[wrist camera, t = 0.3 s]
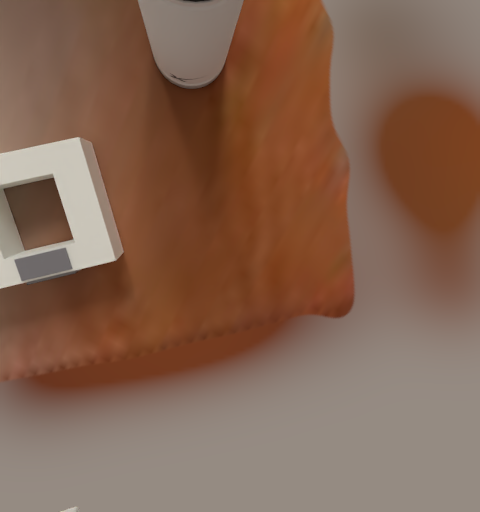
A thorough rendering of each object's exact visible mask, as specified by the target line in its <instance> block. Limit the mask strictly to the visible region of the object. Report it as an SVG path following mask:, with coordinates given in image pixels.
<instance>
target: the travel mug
mask: <svg viewBox="0 0 480 512" xmlns="http://www.w3.org/2000/svg"><path fill="white" fill-rule="evenodd" d="M243 1H244V0H138V3H139V6H140V10H141V13H142V17H143V21H144V24H145V28H146V31H147V35H148V38H149V42H150V46H151V49H152V52H153V56H154V59H155V62H156V65H157V67H158V68H159V70H160V72H161V73H162V74H163V75H164V77H165V78H166V79H168V80H169V81H170V82H171V83H173V84H175V85H177V86H179V87H183V88H188V89H196V88H201V87H204V86H206V85H208V84H210V83H211V82H213V81H214V80H215V79H216V78H217V77H218V75H219V74H220V72H221V71H222V69H223V66H224V64H225V61H226V57H227V54H228V51H229V47H230V44H231V41H232V37H233V34H234V31H235V27H236V24H237V21H238V17H239V14H240V11H241V7H242V4H243Z"/></svg>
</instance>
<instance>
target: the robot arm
mask: <svg viewBox="0 0 480 512" xmlns="http://www.w3.org/2000/svg"><path fill="white" fill-rule="evenodd" d="M60 512H80V511H79V509H78V507H77V506H76V507H73V508H70V509H67V510H63V511H60Z"/></svg>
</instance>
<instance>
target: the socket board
mask: <svg viewBox="0 0 480 512" xmlns="http://www.w3.org/2000/svg"><path fill="white" fill-rule="evenodd" d="M50 178H54V179H55V182H56V185H57V189H58V192H59V195H60V198H61V201H62V204H63V207H64V210H65V214H66V217H67V220H68V223H69V226H70V229H71V232H72V235H73V240H68V241H64V242H60V243H56V244H51V245H47V246H43V247H39V248H34V249H30V250H26V251H25V250H24V247H23V244H22V241H21V238H20V235H19V232H18V230H17V227H16V224H15V221H14V218H13V215H12V212H11V210H10V207H9V204H8V201H7V198H6V195H5V192H4V190H3V189H4V188H9V187H13V186H18V185H22V184H27V183H32V182H36V181H41V180H45V179H50ZM123 253H124V251H123V247H122V244H121V240H120V237H119V234H118V230H117V227H116V223H115V220H114V217H113V213H112V210H111V206H110V203H109V200H108V196H107V193H106V189H105V186H104V183H103V179H102V176H101V172H100V169H99V166H98V162H97V159H96V155H95V152H94V149H93V145H92V142H90V141H87V140H85V139H83V138H80V137H76V138H72V139H67V140H62V141H58V142H53V143H48V144H44V145H39V146H34V147H29V148H25V149H20V150H15V151H11V152H6V153H1V154H0V289H1V288H5V287H9V286H13V285H17V284H21V283H25V282H27V285H29V284H33V283H37V282H41V281H45V280H49V279H54V278H58V277H62V276H66V275H70V274H74V273H77V272H78V271H79V270H81V269H83V268H88V267H92V266H96V265H100V264H104V263H108V262H112V261H116V260H117V259H118V258H119V257H120V256H121V255H122V254H123Z"/></svg>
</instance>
